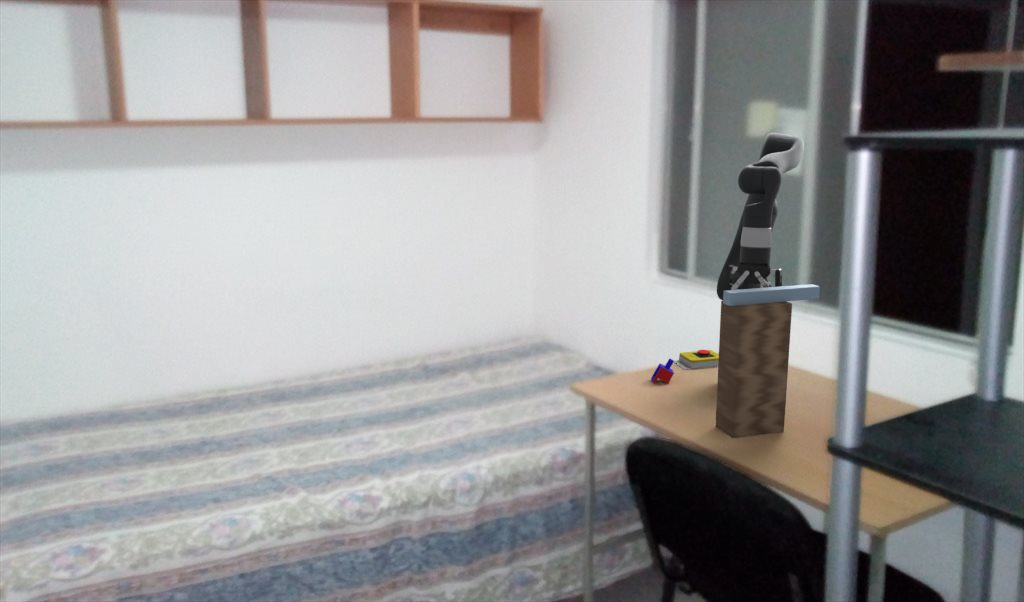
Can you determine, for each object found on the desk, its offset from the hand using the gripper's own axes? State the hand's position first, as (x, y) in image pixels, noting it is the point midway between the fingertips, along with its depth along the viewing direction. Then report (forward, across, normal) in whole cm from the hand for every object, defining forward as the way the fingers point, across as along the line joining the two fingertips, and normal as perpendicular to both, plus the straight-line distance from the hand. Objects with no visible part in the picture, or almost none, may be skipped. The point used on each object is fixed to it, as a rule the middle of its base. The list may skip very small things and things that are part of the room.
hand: (751, 306), depth 210 cm
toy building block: (+26, +26, -8) cm, 38 cm away
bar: (-4, -9, +16) cm, 19 cm away
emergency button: (+25, +22, -30) cm, 45 cm away
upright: (+28, -6, +17) cm, 33 cm away
